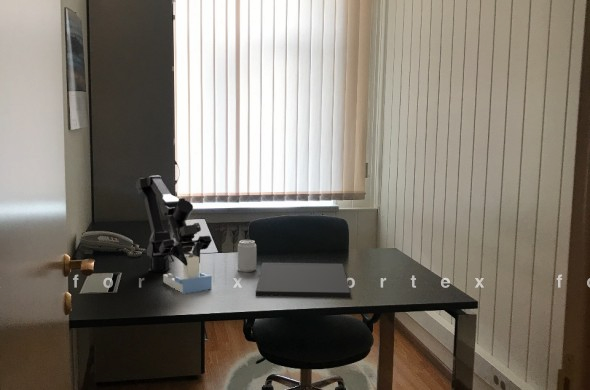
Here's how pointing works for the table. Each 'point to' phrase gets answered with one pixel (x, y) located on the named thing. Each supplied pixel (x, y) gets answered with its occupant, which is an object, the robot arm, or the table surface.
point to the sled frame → (189, 283)
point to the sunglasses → (184, 251)
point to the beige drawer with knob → (191, 266)
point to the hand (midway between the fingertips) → (193, 264)
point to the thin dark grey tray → (302, 280)
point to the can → (246, 255)
